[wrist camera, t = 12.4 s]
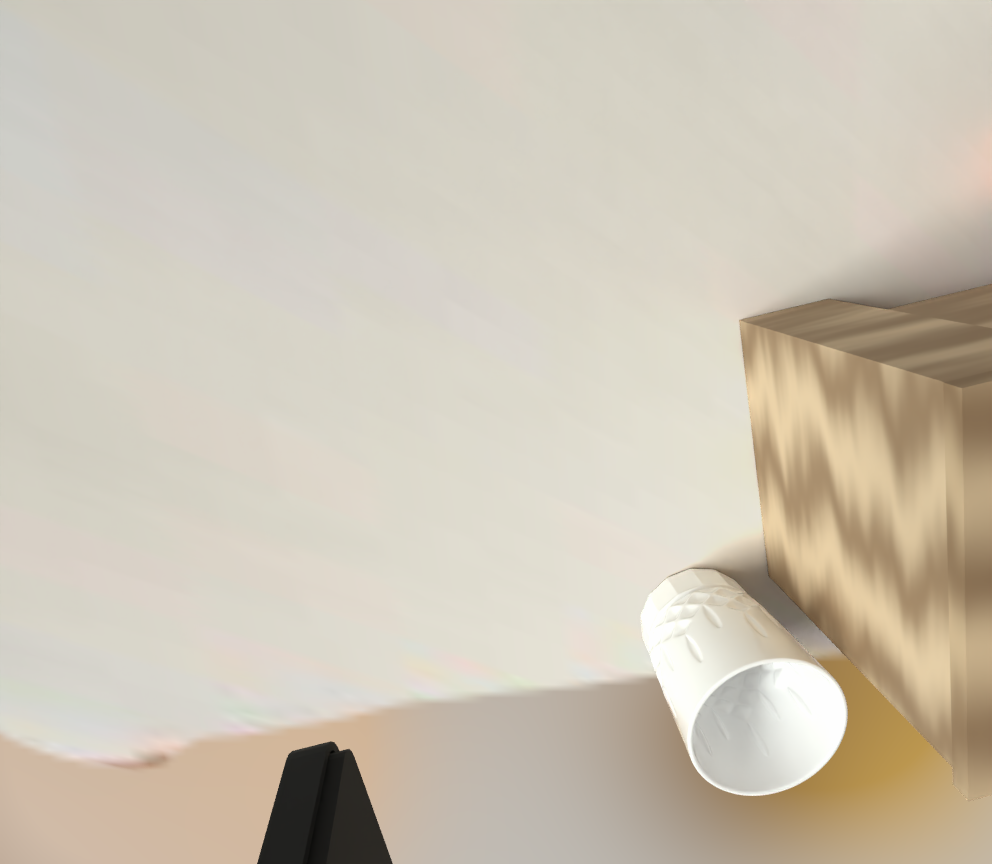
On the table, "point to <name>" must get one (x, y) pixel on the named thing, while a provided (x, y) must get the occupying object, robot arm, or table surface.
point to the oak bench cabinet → (886, 499)
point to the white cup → (740, 685)
